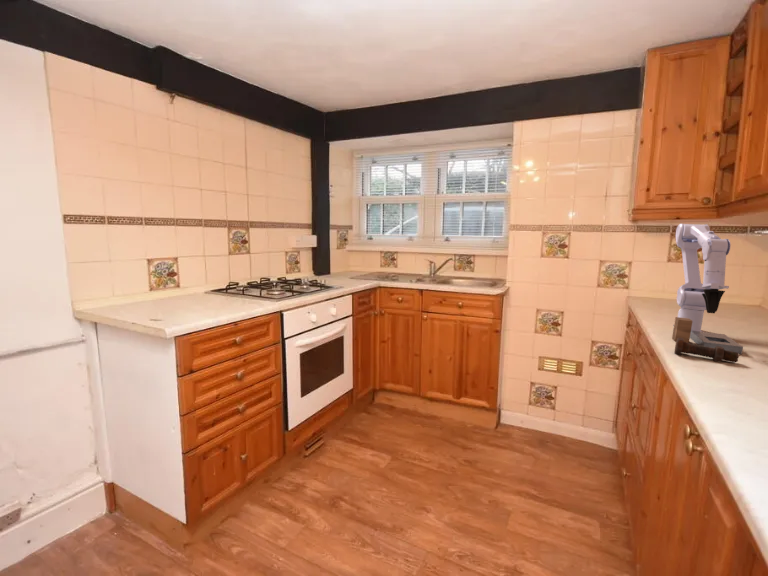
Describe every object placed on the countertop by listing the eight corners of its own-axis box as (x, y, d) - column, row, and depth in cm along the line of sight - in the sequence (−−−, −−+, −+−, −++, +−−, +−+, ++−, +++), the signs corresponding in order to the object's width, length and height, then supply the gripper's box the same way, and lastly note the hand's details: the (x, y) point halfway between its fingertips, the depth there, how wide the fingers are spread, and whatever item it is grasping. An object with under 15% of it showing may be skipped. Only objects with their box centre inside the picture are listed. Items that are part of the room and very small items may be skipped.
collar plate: (689, 336, 146) (690, 330, 145) (723, 341, 142) (724, 334, 141) (703, 349, 131) (704, 342, 131) (741, 354, 127) (743, 346, 127)
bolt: (735, 370, 118) (673, 357, 126) (734, 358, 121) (674, 346, 130) (740, 357, 115) (677, 344, 123) (740, 345, 118) (678, 334, 126)
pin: (671, 338, 143) (675, 317, 141) (685, 340, 141) (689, 318, 140) (674, 341, 139) (678, 319, 138) (688, 343, 138) (692, 321, 136)
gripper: (731, 270, 130) (729, 311, 129) (727, 276, 141) (724, 314, 140) (704, 269, 134) (701, 309, 133) (701, 276, 145) (699, 313, 144)
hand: (711, 312), depth 137 cm, fingers open, 7 cm apart
